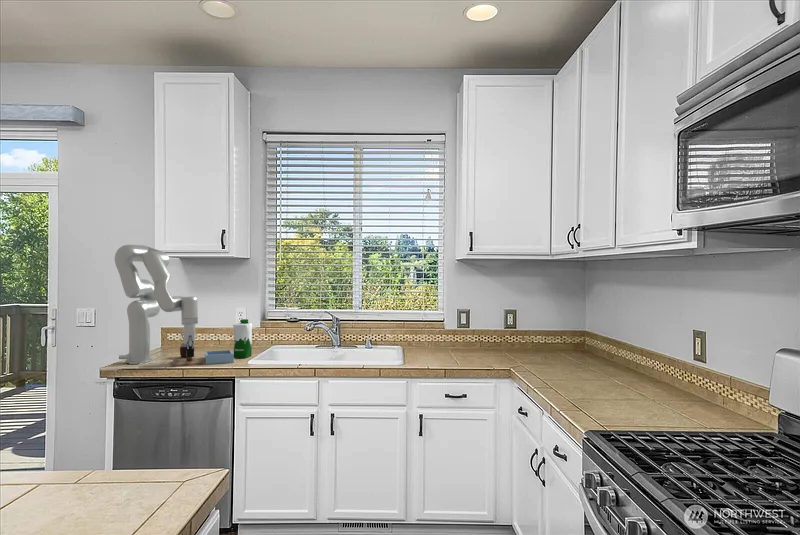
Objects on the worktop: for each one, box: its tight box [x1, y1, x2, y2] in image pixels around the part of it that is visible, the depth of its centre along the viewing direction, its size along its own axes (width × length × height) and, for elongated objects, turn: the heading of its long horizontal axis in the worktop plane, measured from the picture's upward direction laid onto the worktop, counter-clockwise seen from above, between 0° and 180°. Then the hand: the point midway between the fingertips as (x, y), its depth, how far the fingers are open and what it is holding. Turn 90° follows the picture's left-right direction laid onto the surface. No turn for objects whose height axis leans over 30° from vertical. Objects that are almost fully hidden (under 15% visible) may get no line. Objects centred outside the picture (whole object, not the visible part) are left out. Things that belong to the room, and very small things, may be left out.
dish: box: [204, 349, 235, 365], centre depth 261 cm, size 13×13×5 cm
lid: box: [172, 351, 207, 368], centre depth 256 cm, size 15×15×6 cm
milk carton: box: [232, 318, 253, 359], centre depth 277 cm, size 9×9×20 cm
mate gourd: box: [176, 329, 195, 359], centre depth 272 cm, size 8×8×15 cm
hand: (190, 355), depth 256 cm, fingers open, 9 cm apart
